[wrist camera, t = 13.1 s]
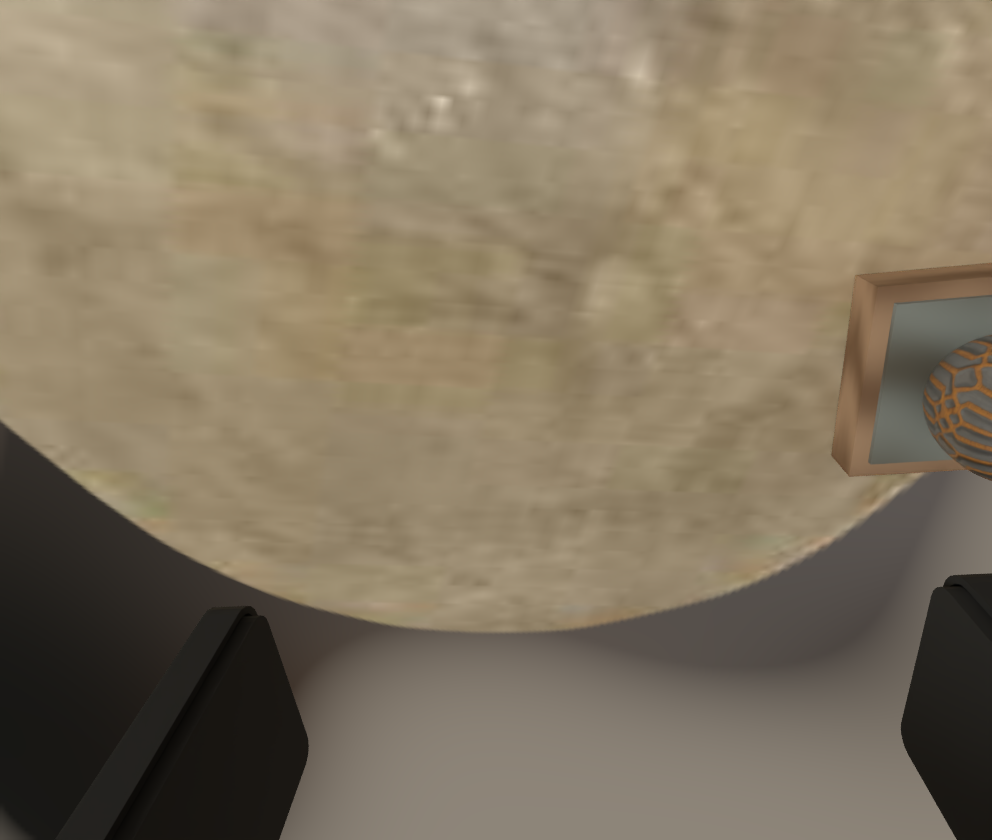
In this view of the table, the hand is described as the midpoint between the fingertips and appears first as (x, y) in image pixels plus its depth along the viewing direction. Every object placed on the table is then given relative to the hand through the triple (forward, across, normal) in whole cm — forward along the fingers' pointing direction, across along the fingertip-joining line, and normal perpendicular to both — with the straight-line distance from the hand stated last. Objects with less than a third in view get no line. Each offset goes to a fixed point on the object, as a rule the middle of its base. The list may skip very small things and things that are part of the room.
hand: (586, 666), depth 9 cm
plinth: (+28, -22, +8) cm, 36 cm away
